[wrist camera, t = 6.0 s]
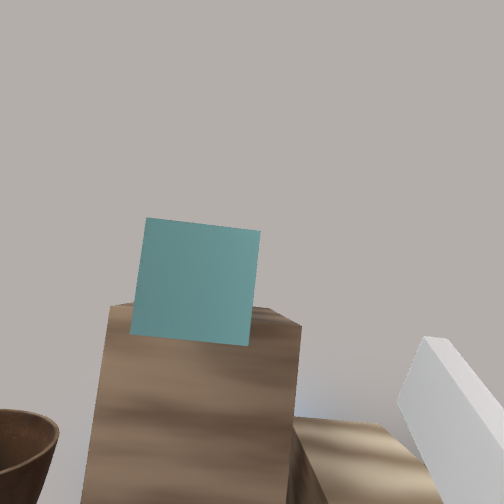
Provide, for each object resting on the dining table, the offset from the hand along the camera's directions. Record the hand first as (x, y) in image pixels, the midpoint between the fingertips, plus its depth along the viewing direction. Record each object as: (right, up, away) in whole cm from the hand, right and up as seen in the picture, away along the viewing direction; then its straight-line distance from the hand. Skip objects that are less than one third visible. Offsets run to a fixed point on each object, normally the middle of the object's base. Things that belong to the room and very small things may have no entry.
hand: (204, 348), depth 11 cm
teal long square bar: (-2, -1, +15) cm, 15 cm away
